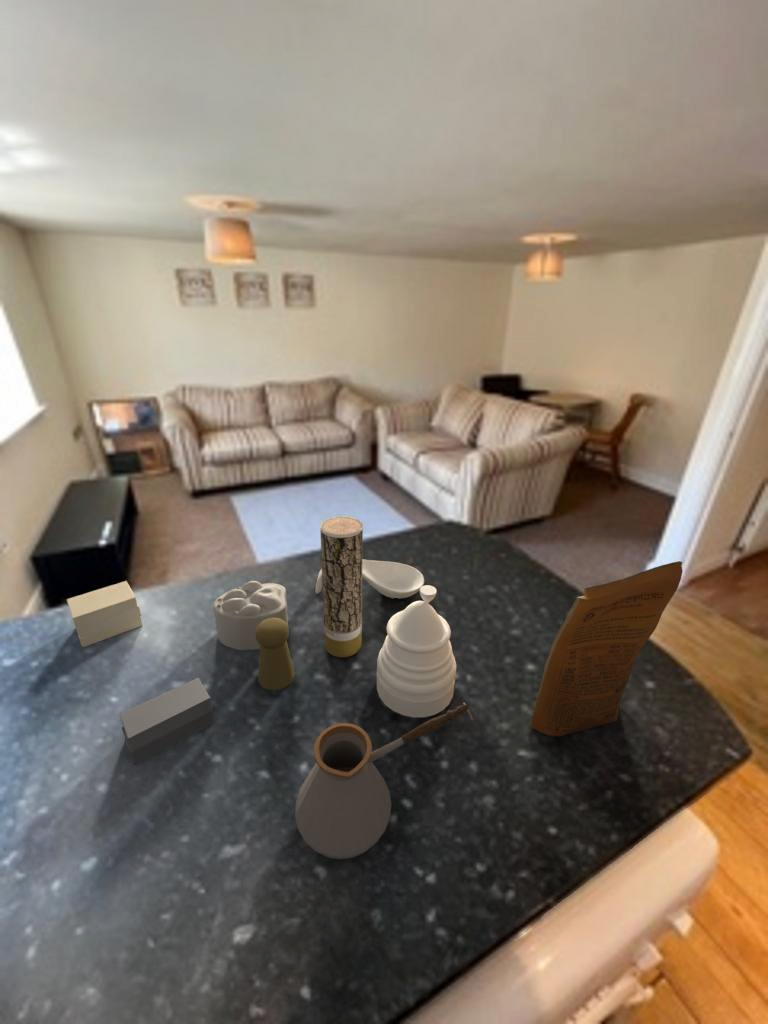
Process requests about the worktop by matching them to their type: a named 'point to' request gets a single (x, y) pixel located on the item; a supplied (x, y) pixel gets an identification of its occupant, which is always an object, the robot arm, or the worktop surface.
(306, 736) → the worktop surface
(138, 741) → the grey block
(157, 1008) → the worktop surface
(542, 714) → the pancake mix bag
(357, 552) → the brown bark cylinder
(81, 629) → the tan rectangular block
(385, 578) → the spoon rest
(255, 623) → the lumpy-topped squat cylinder
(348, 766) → the coffee pot
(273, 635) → the olive peg figurine
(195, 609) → the worktop surface
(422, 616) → the honey pot
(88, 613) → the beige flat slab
